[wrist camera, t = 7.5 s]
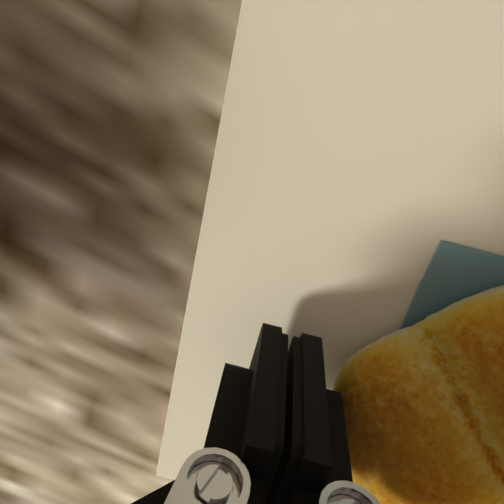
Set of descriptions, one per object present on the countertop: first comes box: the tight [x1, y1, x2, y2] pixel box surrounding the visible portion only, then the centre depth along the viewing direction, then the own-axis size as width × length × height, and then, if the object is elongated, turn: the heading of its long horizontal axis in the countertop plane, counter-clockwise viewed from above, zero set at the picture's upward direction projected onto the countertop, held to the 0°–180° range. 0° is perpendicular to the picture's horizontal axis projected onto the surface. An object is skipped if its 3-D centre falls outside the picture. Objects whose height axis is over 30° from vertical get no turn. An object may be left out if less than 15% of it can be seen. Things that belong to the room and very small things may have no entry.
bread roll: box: [333, 285, 504, 504], centre depth 10 cm, size 8×9×4 cm
